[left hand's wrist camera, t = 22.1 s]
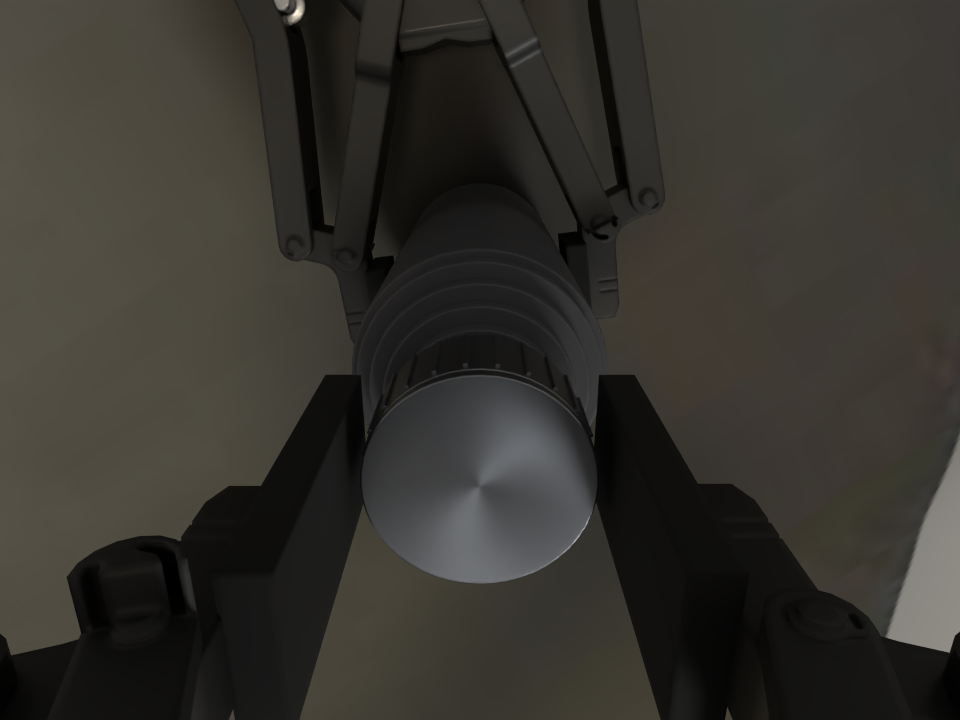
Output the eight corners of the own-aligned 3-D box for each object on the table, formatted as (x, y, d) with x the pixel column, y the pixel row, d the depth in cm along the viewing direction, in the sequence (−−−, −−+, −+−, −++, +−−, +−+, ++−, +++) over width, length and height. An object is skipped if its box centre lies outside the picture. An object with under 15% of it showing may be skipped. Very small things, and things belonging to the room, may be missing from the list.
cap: (339, 463, 15) (315, 522, 13) (440, 291, 14) (433, 326, 11) (513, 551, 16) (518, 620, 14) (625, 397, 14) (650, 449, 12)
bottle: (574, 276, 33) (711, 518, 14) (457, 345, 34) (428, 656, 15) (503, 154, 31) (543, 230, 12) (382, 231, 32) (234, 418, 13)
